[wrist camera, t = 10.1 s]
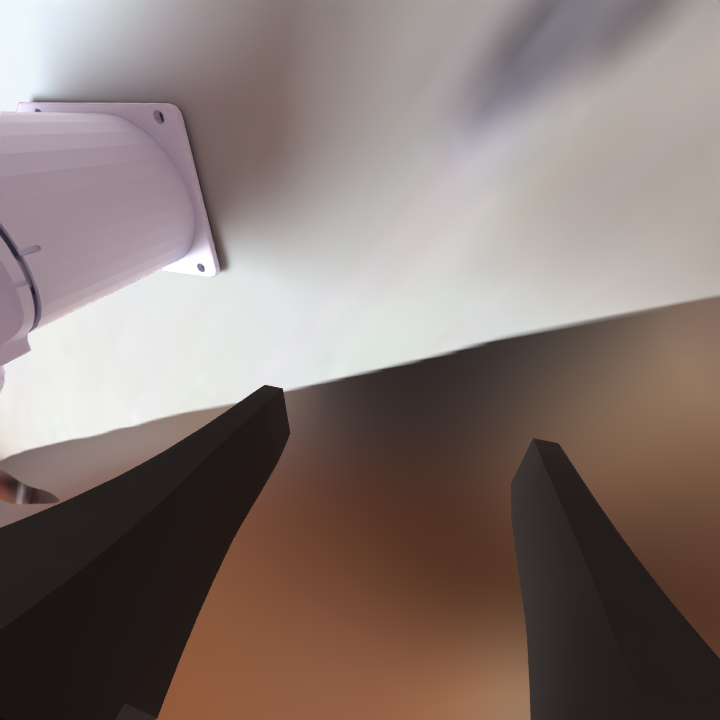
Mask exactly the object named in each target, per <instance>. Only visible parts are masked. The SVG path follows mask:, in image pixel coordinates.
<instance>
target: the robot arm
mask: <svg viewBox="0 0 720 720" xmlns="http://www.w3.org/2000/svg"><path fill="white" fill-rule="evenodd" d="M16 111H17V112H0V393H1V391H2V388H3V385H4V381H5V371H4V368H3V365H4V364H6V363H8V362H10V361H12V360H14V359H16V358H18V357H19V356H21V355H23V354H25V353H27V352H29V351H31V348H30V345H29V343H28V338H27V335H28V333H29V332H31V331H33V330H36V329H38V328H40V327H42V326H44V325H46V324H48V323H50V322H52V321H54V320H56V319H58V318H61V317H63V316H65V315H67V314H69V313H71V312H73V311H75V310H77V309H79V308H81V307H83V306H86V305H88V304H90V303H92V302H94V301H96V300H98V299H100V298H102V297H104V296H106V295H108V294H111V293H113V292H115V291H117V290H119V289H121V288H123V287H125V286H127V285H129V284H131V283H133V282H136V281H138V280H140V279H142V278H144V277H146V276H148V275H150V274H152V273H154V272H156V271H158V270H163V271H170V272H178V273H186V274H194V275H201V276H209V277H214V276H216V275H217V274H219V272H220V266H219V262H218V258H217V254H216V250H215V246H214V242H213V238H212V234H211V230H210V226H209V222H208V218H207V213H206V209H205V205H204V201H203V197H202V193H201V189H200V185H199V181H198V177H197V173H196V169H195V165H194V161H193V157H192V152H191V148H190V144H189V140H188V136H187V132H186V128H185V124H184V120H183V116H182V114H181V112H180V110H179V109H178V107H176V106H175V105H174V104H170V103H59V102H19V103H17V105H16ZM160 112H161V113H162V115H163V117H164V122H163V121H162V120H161V118H160ZM201 264H202V265H203V266H204V267H205V269H204V268H203V267H202V265H201ZM289 435H290V429H289V423H288V417H287V412H286V405H285V399H284V393H283V388H278V387H273V386H268V385H264V386H262V387H261V388H259V389H258V390H256V391H255V392H253V393H252V394H251V395H249V396H248V397H246V398H245V399H243V400H242V401H241V402H239V403H238V404H236V405H235V406H233V407H232V408H230V409H229V410H228V411H226V412H225V413H223V414H222V415H220V416H219V417H217V418H216V419H214V420H213V421H211V422H210V423H208V424H207V425H205V426H204V427H202V428H201V429H199V430H198V431H196V432H194V433H193V434H191V435H190V436H188V437H186V438H185V439H183V440H182V441H180V442H178V443H177V444H175V445H174V446H172V447H170V448H169V449H167V450H165V451H164V452H162V453H160V454H158V455H157V456H155V457H153V458H151V459H150V460H148V461H146V462H144V463H142V464H141V465H139V466H137V467H135V468H133V469H131V470H129V471H127V472H125V473H124V474H122V475H120V476H118V477H116V478H114V479H112V480H110V481H107V482H105V483H103V484H101V485H99V486H97V487H95V488H93V489H91V490H88V491H86V492H84V493H82V494H80V495H78V496H76V497H74V498H71V499H69V500H67V501H65V502H62V503H60V504H58V505H55V506H53V507H51V508H48V509H46V510H44V511H41V512H39V513H37V514H34V515H32V516H29V517H27V518H24V519H22V520H19V521H17V522H14V523H12V524H9V525H7V526H4V527H1V528H0V720H155V719H157V718H158V715H159V712H160V710H161V707H162V704H163V702H164V699H165V696H166V694H167V691H168V689H169V686H170V683H171V681H172V678H173V676H174V673H175V671H176V668H177V665H178V663H179V660H180V658H181V655H182V653H183V650H184V648H185V646H186V643H187V641H188V638H189V636H190V634H191V631H192V629H193V626H194V624H195V622H196V619H197V617H198V615H199V612H200V610H201V608H202V605H203V603H204V601H205V599H206V596H207V594H208V592H209V590H210V588H211V585H212V583H213V581H214V579H215V576H216V574H217V572H218V570H219V568H220V566H221V564H222V561H223V559H224V557H225V555H226V553H227V551H228V549H229V547H230V545H231V543H232V541H233V539H234V537H235V535H236V533H237V532H238V530H239V528H240V526H241V525H242V523H243V521H244V519H245V518H246V516H247V514H248V513H249V511H250V509H251V507H252V506H253V504H254V502H255V501H256V499H257V497H258V496H259V494H260V492H261V491H262V489H263V487H264V485H265V484H266V482H267V480H268V479H269V477H270V475H271V473H272V471H273V470H274V468H275V466H276V465H277V463H278V461H279V458H280V456H281V454H282V452H283V450H284V447H285V445H286V442H287V440H288V438H289ZM511 513H512V514H511V515H512V528H513V535H514V542H515V550H516V557H517V564H518V571H519V578H520V584H521V592H522V599H523V605H524V613H525V621H526V631H527V643H528V665H529V684H530V709H531V710H530V711H531V720H720V659H719V658H718V657H717V655H716V654H715V653H714V652H713V651H712V649H711V648H710V647H709V646H708V645H707V644H706V642H705V641H704V640H703V639H702V638H701V637H700V635H699V634H698V633H697V632H696V631H695V629H694V628H693V627H692V626H691V625H690V624H689V622H688V621H687V620H686V619H685V618H684V616H683V615H682V614H681V613H680V612H679V611H678V610H677V609H676V607H675V606H674V605H673V603H672V602H671V601H670V600H669V598H668V597H667V596H666V595H665V593H664V592H663V591H662V590H661V588H660V587H659V586H658V585H657V583H656V582H655V581H654V579H653V578H652V577H651V576H650V574H649V573H648V571H647V570H646V569H645V568H644V566H643V565H642V564H641V562H640V561H639V560H638V558H637V557H636V556H635V555H634V553H633V552H632V550H631V549H630V548H629V546H628V545H627V544H626V542H625V541H624V540H623V538H622V537H621V535H620V534H619V532H618V531H617V530H616V528H615V527H614V525H613V524H612V523H611V521H610V520H609V518H608V517H607V515H606V514H605V513H604V511H603V510H602V508H601V507H600V505H599V504H598V503H597V501H596V499H595V498H594V497H593V495H592V494H591V492H590V491H589V489H588V487H587V486H586V485H585V483H584V482H583V480H582V478H581V477H580V475H579V474H578V472H577V471H576V469H575V468H574V466H573V465H572V463H571V462H570V460H569V458H568V457H567V455H566V454H565V452H564V451H563V449H562V448H561V446H560V445H559V444H558V443H554V442H549V441H544V440H539V439H534V438H533V440H532V442H531V444H530V446H529V448H528V450H527V452H526V454H525V456H524V458H523V460H522V462H521V465H520V466H519V469H518V471H517V473H516V475H515V477H514V479H513V481H512V483H511Z"/></svg>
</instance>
